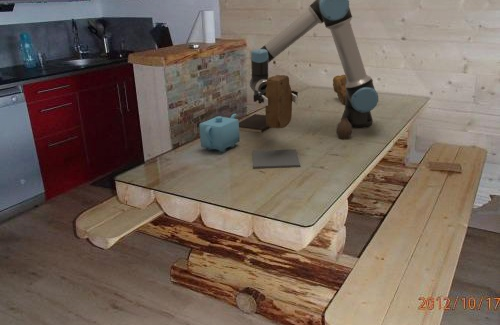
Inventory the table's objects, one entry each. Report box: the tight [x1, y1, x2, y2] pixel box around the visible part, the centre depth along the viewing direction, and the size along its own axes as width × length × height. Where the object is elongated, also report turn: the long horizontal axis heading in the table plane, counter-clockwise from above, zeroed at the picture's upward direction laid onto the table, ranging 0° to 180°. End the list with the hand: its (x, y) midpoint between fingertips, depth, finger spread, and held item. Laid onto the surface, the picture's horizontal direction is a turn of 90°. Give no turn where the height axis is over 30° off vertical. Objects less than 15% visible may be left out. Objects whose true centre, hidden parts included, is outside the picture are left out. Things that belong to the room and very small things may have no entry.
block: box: [265, 74, 293, 129], centre depth 178 cm, size 11×8×20 cm
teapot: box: [198, 113, 240, 153], centre depth 194 cm, size 22×11×14 cm, turn 147°
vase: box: [336, 117, 353, 140], centre depth 200 cm, size 7×7×9 cm
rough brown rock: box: [332, 74, 374, 105], centre depth 257 cm, size 23×17×15 cm
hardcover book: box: [239, 113, 272, 134], centre depth 225 cm, size 16×23×2 cm
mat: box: [252, 148, 301, 170], centre depth 179 cm, size 18×18×1 cm
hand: (281, 101), depth 174 cm, fingers closed on block, 11 cm apart
